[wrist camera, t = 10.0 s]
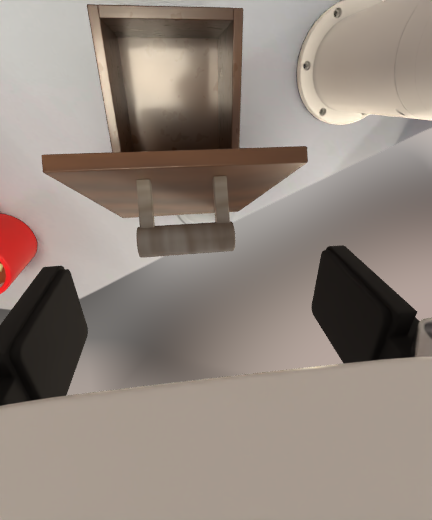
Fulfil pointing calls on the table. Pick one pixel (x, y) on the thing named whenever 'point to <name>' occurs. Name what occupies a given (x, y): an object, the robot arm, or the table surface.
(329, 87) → the robot arm
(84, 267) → the table surface
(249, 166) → the lid
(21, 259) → the mug
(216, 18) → the chest
